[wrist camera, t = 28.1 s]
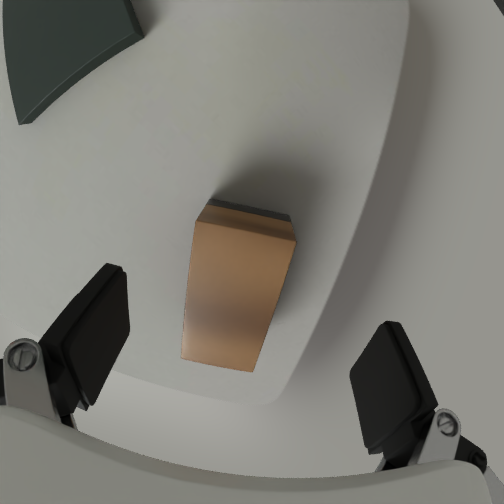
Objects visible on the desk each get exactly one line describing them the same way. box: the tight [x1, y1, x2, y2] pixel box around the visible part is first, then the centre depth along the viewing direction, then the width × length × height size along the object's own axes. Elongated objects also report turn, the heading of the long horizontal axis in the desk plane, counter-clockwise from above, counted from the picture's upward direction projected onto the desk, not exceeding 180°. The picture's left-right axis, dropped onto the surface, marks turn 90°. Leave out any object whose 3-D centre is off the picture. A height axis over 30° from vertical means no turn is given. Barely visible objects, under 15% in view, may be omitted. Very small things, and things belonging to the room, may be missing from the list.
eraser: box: [181, 199, 297, 372], centre depth 17 cm, size 10×5×4 cm, turn 168°
